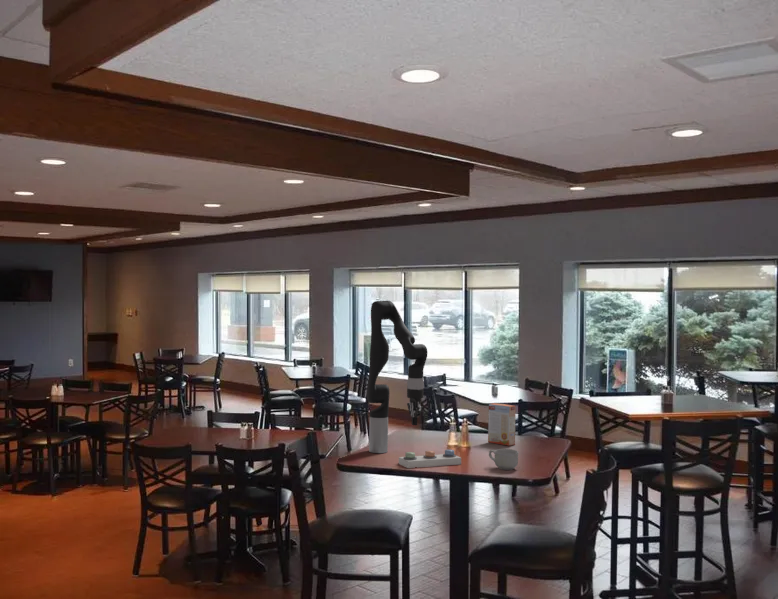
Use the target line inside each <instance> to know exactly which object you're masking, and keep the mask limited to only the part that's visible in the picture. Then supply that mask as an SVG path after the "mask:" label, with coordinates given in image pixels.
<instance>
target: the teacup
mask: <svg viewBox="0 0 778 599" xmlns="http://www.w3.org/2000/svg"><path fill="white" fill-rule="evenodd" d="M492 453H493V454H494V457H493V455H492ZM488 456H489V458H490V459H491V460H492V461H493V463H494V464H495V466H496V467H497V468H498V469H500V470H501V471H502V470H503V471H513V470H514V469H515V468H516V467H517V466H518V464H519V451H518V450H516V449H512V448H499V449H498V448H497V449H491V450H489V451H488Z"/></svg>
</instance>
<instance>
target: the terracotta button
mask: <svg viewBox="0 0 778 599" xmlns="http://www.w3.org/2000/svg"><path fill="white" fill-rule="evenodd" d="M424 455H425V456H426V457H435V455H436V452H435V450H426V451H425V454H424Z"/></svg>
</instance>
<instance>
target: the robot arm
mask: <svg viewBox="0 0 778 599" xmlns="http://www.w3.org/2000/svg"><path fill="white" fill-rule="evenodd" d="M370 306H371V307H370V328H371V329H370V333H371V334H370V346H369V372H368V380H367V388H366V390H367V391H366V399H367V402H368V403H370V404H380V405H379V406H378V407H376V408H373V409H372V410H370V411H369V426H368V428H369V436H368V437H369V438H368V440H369V441H368V443H369V444H368V448H369V449H368V451H369V452H370V453H371V454H386V453H388V450H389V449H388V447H389V445H388V444H389V406H390V388H389V385H388V384H384V383H382V384H380V383H379V384H376V382H377V380H378V377H379V375H380V373H381V372H382V370H383V369H384V367H385V366H386V365H387V363H388V361H389V355H390V354H389V353H390V346H389V342H388V340H387V338H386V337H385V335H384V333H383V329H382V321H383V320H390V321H391V322H392V323H393V334H394V335H393V336H394V337H395V339H396V340H397V341H398V343H399V344H400V345H401V348H402V351H403V353H404V356H405V357H406V358H407V359H408V360H410V361H411V360H412V361H413V360H415V361H414V363H413V364H410V365H408V368H407V369H408V370H407V382H406V384H407V385H406V397H407V398H408V399H409V402H407V403H406V405H407V409H408V414H409V415H410V417H411V425H412V426H417V425H418V418H419V417H420V416H421V414H422V411H423V409H424V407H423V406H421V399H423V398H424V388H425V387H424V386H425V384H424V383H425V382H424V368H425V365H426V363H427V362H426V361H427V358H428V348H427V346H426V345H425V344H423V343H418V344H417V343H415V342H416V339H415V336H414V335H413V334H412V332H411V331H410V330H409V328H408V327H407V326H406V324H405V323H404V320H403V318H402V317H401V315H400V313H399V311H398V309H397V307H396V305H395V304H394V302H393V301H391V300H376V301H373V302H372V304H371V305H370Z"/></svg>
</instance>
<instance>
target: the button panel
mask: <svg viewBox="0 0 778 599" xmlns="http://www.w3.org/2000/svg"><path fill="white" fill-rule="evenodd" d="M398 464H399V465H400V466H402V467H404V468H407V469H415V467H417V468H426V467H427V468H429V467H430V468H431V467H442V466H455V465H456V466H457V465H462V457H460V456H458V455H456V454H455V453H454V455H453V456H447V455H445V453H441V454H435V457H426V456H425V454H424V455H415V458H405V456H398Z"/></svg>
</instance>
